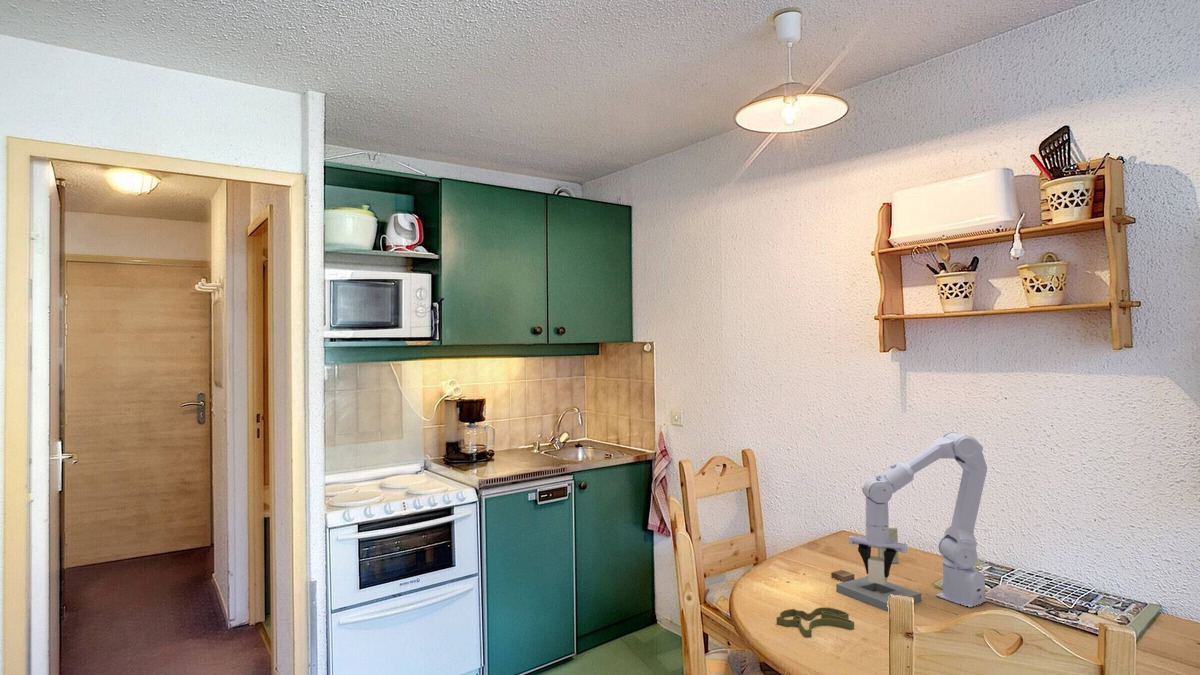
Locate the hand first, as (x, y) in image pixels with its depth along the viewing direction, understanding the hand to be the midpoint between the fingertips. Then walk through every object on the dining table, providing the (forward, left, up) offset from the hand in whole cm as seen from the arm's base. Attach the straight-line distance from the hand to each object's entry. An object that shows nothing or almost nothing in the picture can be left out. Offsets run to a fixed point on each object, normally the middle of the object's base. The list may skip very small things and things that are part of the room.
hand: (877, 574), depth 174 cm
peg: (0, 0, -2) cm, 2 cm away
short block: (+14, -3, -6) cm, 16 cm away
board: (0, 0, -6) cm, 6 cm away
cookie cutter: (-4, +29, -6) cm, 30 cm away
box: (+18, -29, -6) cm, 35 cm away
